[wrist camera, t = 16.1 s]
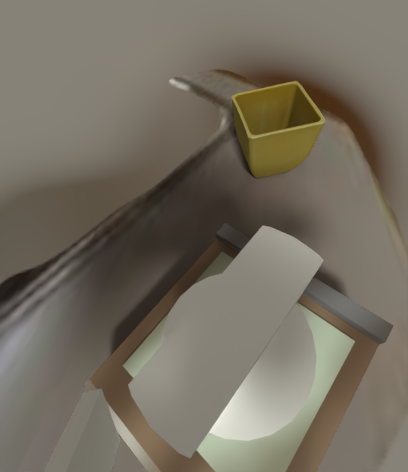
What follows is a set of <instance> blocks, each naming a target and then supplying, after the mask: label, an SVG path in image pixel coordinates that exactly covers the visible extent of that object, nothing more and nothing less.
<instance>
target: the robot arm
mask: <svg viewBox="0 0 408 472" xmlns="http://www.w3.org/2000/svg"><path fill="white" fill-rule="evenodd" d="M119 442H120V439H119V436H118V433H117V430H116V428H115V425H114V422H113V419H112V416H111V414H110V411H109V408H108V405H107V402H106V399H105V397H104V394H103V391H102V389H97V390H92V391H88V392H83V394H82V396H81V398H80V400H79V402H78V404H77V406H76V408H75V410H74V412H73V414H72V416H71V418H70V420H69V422H68V424H67V426H66V428H65V430H64V432H63V434H62V436H61V438H60V440H59V442H58V444H57V446H56V448H55V449H54V451H53V453H52V455H51V457H50V459H49V461H48V463H47V465H46V467H45V469H44V471H43V472H111V471H112V468H113V464H114V460H115V457H116V453H117V449H118V446H119Z"/></svg>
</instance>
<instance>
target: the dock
mask: <svg viewBox="0 0 408 472" xmlns="http://www.w3.org/2000/svg"><path fill="white" fill-rule="evenodd" d="M216 236H217V238H216V240H215V241H214V242H213V243H212V244H211V245H210V246H209V247H208V248H207V249H206V251H205V252H204V253H203V254H202V255H201V256H200V257H199V258H198V259H197V261H196V262H195V263H194V264H193V265H192V266H191V267H190V268H189V269H188V271H187V272H186V273H185V274H184V275H183V276H182V277H181V278H180V279H179V280H178V282H177V283H176V284H175V285H174V286H173V287H172V288H171V289H170V290H169V292H168V293H167V294H166V295H165V296H164V297H163V298H162V299H161V300H160V302H159V303H158V304H157V305H156V306H155V307H154V308H153V309H152V310H151V311H150V313H149V314H148V315H147V316H146V317H145V318H144V319H143V320H142V321H141V323H140V324H139V325H138V326H137V327H136V328H135V329H134V330H133V331H132V333H131V334H130V335H129V336H128V337H127V338H126V339H125V340H124V341H123V342H122V344H121V345H120V346H119V347H118V348H117V349H116V350H115V351H114V352H113V354H112V355H111V356H110V357H109V358H108V359H107V360H106V361H105V362H104V364H103V365H102V366H101V367H100V368H99V369H98V370H97V371H96V372H95V373H94V375H93V376H92V377H91V378H90V379H89V380H88V381H87V382H86V383H85V385H84V388H85V389H86V390H87V392H88V391H92V390H97V389H102V391H103V394H104V397H105V399H106V402H107V405H108V408H109V411H110V414H111V416H112V419H113V422H114V425H115V428H116V430H117V432H118V433H119V434H120V436H121V437H122V438H123V440H124V441H125V442H126V443H127V445H128V446H129V447H130V449H131V450H132V451H133V453H134V454H135V455H136V457H137V458H138V459H139V461H140V462H141V463H142V465H143V466H144V467H145V469H146V470H147V471H148V472H316V471H317V469H318V467H319V465H320V463H321V461H322V459H323V457H324V455H325V453H326V451H327V449H328V447H329V445H330V443H331V441H332V439H333V437H334V434H335V432H336V430H337V428H338V426H339V424H340V422H341V420H342V418H343V416H344V414H345V412H346V410H347V408H348V406H349V404H350V402H351V400H352V398H353V396H354V394H355V392H356V390H357V388H358V386H359V384H360V382H361V380H362V378H363V376H364V374H365V372H366V370H367V368H368V366H369V364H370V362H371V360H372V358H373V356H374V354H375V351H376V349H377V347H378V345H379V344H381V343H384V342H386V340H387V338H388V336H389V334H390V332H391V330H392V328H393V325H392V324H390V323H388V322H387V321H385V320H383V319H382V318H380V317H378V316H377V315H375V314H374V313H372V312H370V311H369V310H367V309H365V308H364V307H362V306H360V305H359V304H357V303H356V302H354V301H352V300H351V299H349V298H347V297H346V296H344V295H342V294H341V293H339V292H338V291H336V290H334V289H333V288H331V287H329V286H328V285H326V284H325V283H323V282H321V281H320V280H318V279H316V278H315V277H313V278H312V280H311V281H310V283H309V284H308V286H307V287H306V289H305V290H304V292H303V293H302V295H301V296H300V298H299V299H298V301H297V303H296V304H297V305H298V307H299V308H300V309H301V311H302V312H303V314H304V315H305V317H306V320H307V322H308V324H309V327H310V329H311V331H312V334H313V338H314V344H315V350H316V356H317V360H316V371H315V381H314V384H313V386H312V389H311V391H310V394H309V397H308V399H307V402H306V404H305V405H304V406H303V408H302V409H301V410H300V411H299V413H298V414H297V415H296V417H295V418H294V419H293V420H292V422H290V423H289V424H287V425H286V426H284V427H283V428H281V429H280V430H278V431H277V432H275V433H274V434H272V435H270V436H266V437H262V438H258V439H254V440H250V441H243V440H231V439H223V438H221V437H219V436H216V435H214V434H211V433H208V434H207V436H206V437H205V439H204V440H203V441H202V443H201V444H200V445H199V447H198V448H197V450H196V451H195V452H194V454H193V455H192V456H191V458H188V457H186V456H184V455H182V454H180V453H178V452H177V451H176V450H175V449H174V448H173V447H172V446H171V445H169V444H168V443H167V442H166V441H165V440H164V439H163V438H162V437H161V436H160V435H158V434H157V433H156V432H155V431H154V430H153V429H152V428H151V427H150V426H149V424H148V422H147V421H146V419H145V417H144V416H143V414H142V413H141V411H140V409H139V408H138V406H137V404H136V403H135V401H134V399H133V398H132V396H131V393H130V390H129V386H128V384H129V383H130V382H131V381H132V380H133V379H134V377H135V376H136V375H137V374H138V373H139V371H140V370H141V369H142V368H143V367H144V365H145V364H146V363H147V362H148V361H149V360H150V358H151V357H152V356H153V355H154V354H155V352H156V351H157V350H158V349H159V348H160V345H161V338H162V330H163V328H164V325H165V322H166V320H167V317H168V315H169V312H170V311H171V309H172V308H173V306H174V305H175V303H176V302H177V300H178V299H179V297H180V296H181V295H182V294H184V293H185V292H186V291H187V290H188V289H189V288H190V287H191V286H193V285H194V284H196V283H198V282H200V281H201V280H203V279H205V278H207V277H209V276H213V275H218V274H222V273H223V272H224V271H225V269H226V268H227V267H228V266H229V265H230V263H231V262H232V261H233V260H234V259H235V258H236V256H237V255H238V254H239V253H240V252H241V250H242V249H243V248H244V247H245V246H246V245H247V243H248V242H249V241H250V240H251V238H249V237H248V236H246V235H244V234H243V233H241V232H239V231H238V230H236V229H235V228H233V227H231V226H230V225H228V224H226V223H225V224H224V225H223V226H222V227H221V228H220V229H219V230H218V231H217V232H216Z"/></svg>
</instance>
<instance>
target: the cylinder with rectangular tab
mask: <svg viewBox="0 0 408 472" xmlns="http://www.w3.org/2000/svg"><path fill="white" fill-rule="evenodd" d="M323 261H324V260H323V259H322V258H321V257H320V256H319V255H318V254H317V253H316V252H314V251H313V250H312V249H310V248H309V247H307V246H306V245H305V244H303V243H302V242H301V241H299V240H298V239H296V238H295V237H293V236H290V235H288V234H286V233H283V232H281V231H279V230H276V229H274V228H272V227H268V226H262V227H261V228H260V229H259V230H258V231H257V233H256V234H255V235H254V236H253V237H252V239H251V240H250V241H249V242H248V243H247V245H246V246H245V247H244V248H243V249H242V250H241V252H240V253H239V254H238V255H237V256H236V258H235V259H234V260H233V261H232V262H231V263H230V265H229V266H228V267H227V268H226V269H225V271H224V272H223V273H222V274H218V275H213V276H209V277H207V278H205V279H203V280H201V281H200V282H198V283H196V284H194V285H193V286H191V287H190V288H189V289H188V290H187V291H186V292H185V293H184V294H182V295H181V296H180V297H179V299H178V300H177V302H176V303H175V305H174V306H173V308H172V309H171V311H170V312H169V315H168V317H167V320H166V322H165V325H164V328H163V330H162V338H161V345H160V348H159V349H158V350H157V351H156V352H155V354H154V355H153V356H152V357H151V358H150V360H149V361H148V362H147V363H146V364H145V365H144V367H143V368H142V369H141V370H140V371H139V373H138V374H137V375H136V376H135V377H134V379H133V380H132V381H131V382H130V383H129V384H128V386H129V390H130V393H131V396H132V398H133V399H134V401H135V403H136V404H137V406H138V408H139V409H140V411H141V413H142V414H143V416H144V417H145V419H146V421H147V422H148V424H149V426H150V427H151V428H152V429H153V430H154V431H155V432H156V433H157V434H158V435H160V436H161V437H162V438H163V439H164V440H165V441H166V442H167V443H168V444H169V445H171V446H172V447H173V448H174V449H175V450H176V451H177V452H178V453H180V454H182V455H184V456H186V457H188V458H191V456H192V455H193V454H194V452H195V451H196V450H197V448H198V447H199V445H200V444H201V443H202V441H203V440H204V439H205V437H206V436H207V434H208V433H211V434H214V435H216V436H219V437H221V438H223V439H231V440H243V441H250V440H254V439H258V438H262V437H266V436H270V435H272V434H274V433H275V432H277V431H278V430H280V429H281V428H283V427H284V426H286V425H287V424H289V423H290V422H292V420H293V419H294V418H295V417H296V415H297V414H298V413H299V411H300V410H301V409H302V408H303V406H304V405H305V404H306V402H307V399H308V397H309V394H310V391H311V389H312V386H313V384H314V381H315V371H316V360H317V356H316V350H315V344H314V338H313V334H312V331H311V329H310V327H309V324H308V322H307V320H306V317H305V315H304V314H303V312H302V311H301V309H300V308H299V307H298V305H297V304H296V303H297V301H298V299H299V298H300V296H301V295H302V293H303V292H304V290H305V289H306V287H307V286H308V284H309V283H310V281H311V280H312V278H313V276H314V275H315V273H316V272H317V270H318V269H319V267H320V266H321V264H322V263H323Z"/></svg>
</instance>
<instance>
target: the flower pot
mask: <svg viewBox="0 0 408 472" xmlns="http://www.w3.org/2000/svg"><path fill="white" fill-rule="evenodd" d="M232 104H233V113H234V121H235V128H236V133H237V137H238V140H239V143H240V145H241V148H242V150H243V153H244V155H245V158H246V160H247V163H248V166H249V168H250V171H251V173H252V175H253V176H254V177H255V178H261V177H266V176H271V175H275V174H280V173H285V172H289V171H290V170H292V169H294V168H295V167H297V166H298V165H299V164H301V163H302V162H303V161H304V160H305V158H306V157H307V156H308V155H309V153H310V151H311V150H312V148H313V146H314V144H315V142H316V140H317V138H318V136H319V134H320V132H321V130H322V128H323V126H324V124H325V122H326V121H325V119H324V117H323V115H322V114H321V112H320V111H319V109H318V108H317V107H316V105H315V104H314V103H313V101H312V100H311V99H310V97H309V96H308V94H307V93H306V92H305V90H304V89H303V87H302V86H301V85H300V84H299V83H298V82H297V81H296V82H295V81H294V82H289V83H284V84H280V85H275V86H271V87H266V88H261V89H256V90H251V91H247V92H242V93H238V94H235V95H232Z"/></svg>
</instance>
